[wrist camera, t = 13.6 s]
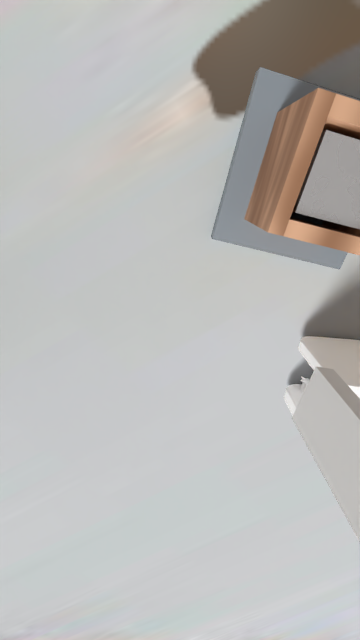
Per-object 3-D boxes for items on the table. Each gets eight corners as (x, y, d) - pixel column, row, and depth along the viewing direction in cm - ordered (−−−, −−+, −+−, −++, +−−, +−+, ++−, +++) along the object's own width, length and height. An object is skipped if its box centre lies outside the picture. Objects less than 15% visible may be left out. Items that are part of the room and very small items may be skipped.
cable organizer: (397, 339, 43) (471, 392, 32) (369, 398, 47) (426, 462, 37) (295, 331, 42) (337, 383, 31) (276, 392, 46) (308, 455, 36)
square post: (267, 204, 33) (295, 212, 26) (289, 141, 31) (326, 129, 23) (319, 218, 34) (360, 229, 27) (344, 157, 31) (397, 151, 24)
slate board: (210, 236, 36) (212, 238, 35) (255, 72, 29) (260, 67, 28) (333, 266, 38) (339, 269, 37) (401, 118, 31) (412, 115, 30)
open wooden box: (244, 219, 34) (267, 232, 26) (277, 112, 30) (318, 87, 21) (327, 240, 35) (375, 259, 27) (370, 140, 31) (443, 127, 23)
